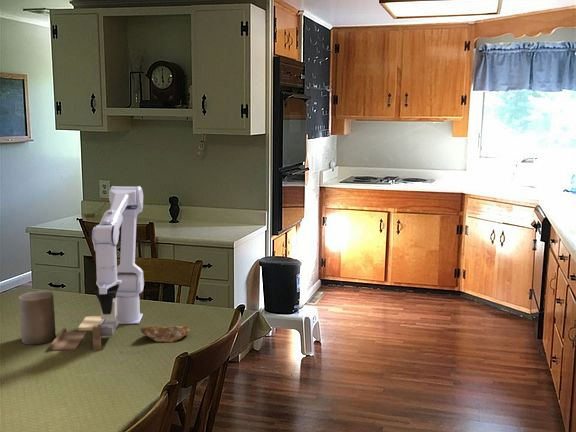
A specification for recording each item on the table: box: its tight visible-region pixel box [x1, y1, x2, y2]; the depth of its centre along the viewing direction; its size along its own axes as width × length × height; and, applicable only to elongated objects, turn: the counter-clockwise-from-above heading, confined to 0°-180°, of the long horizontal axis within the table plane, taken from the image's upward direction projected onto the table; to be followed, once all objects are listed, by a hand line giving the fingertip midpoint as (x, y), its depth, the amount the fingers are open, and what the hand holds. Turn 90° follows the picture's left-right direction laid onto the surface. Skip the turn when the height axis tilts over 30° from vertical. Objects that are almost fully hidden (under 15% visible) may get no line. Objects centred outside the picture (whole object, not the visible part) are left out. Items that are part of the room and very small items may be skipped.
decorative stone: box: [139, 324, 191, 344], centre depth 192 cm, size 10×4×15 cm
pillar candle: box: [18, 290, 57, 345], centre depth 188 cm, size 10×10×15 cm
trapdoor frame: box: [50, 320, 105, 351], centre depth 188 cm, size 15×14×6 cm
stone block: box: [99, 297, 117, 319], centre depth 185 cm, size 4×4×5 cm
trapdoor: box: [77, 315, 119, 337], centre depth 188 cm, size 11×10×3 cm
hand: (108, 311), depth 185 cm, fingers closed on stone block, 4 cm apart
